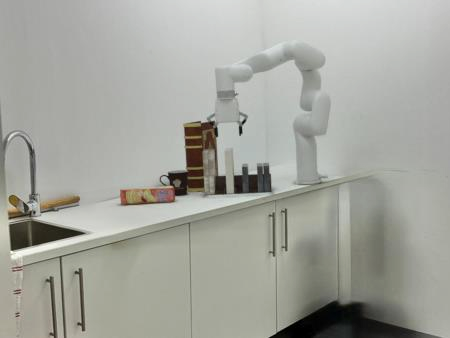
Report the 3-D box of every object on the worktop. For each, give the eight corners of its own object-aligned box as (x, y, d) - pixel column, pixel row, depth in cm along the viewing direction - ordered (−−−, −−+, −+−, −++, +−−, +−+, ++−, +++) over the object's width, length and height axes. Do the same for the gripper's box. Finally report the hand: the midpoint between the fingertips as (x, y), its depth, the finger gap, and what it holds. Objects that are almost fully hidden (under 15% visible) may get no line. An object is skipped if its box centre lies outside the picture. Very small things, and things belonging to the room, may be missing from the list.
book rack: (271, 189, 272) (269, 146, 270) (272, 194, 258) (270, 149, 256) (207, 192, 270) (204, 148, 268) (204, 197, 256) (202, 152, 254)
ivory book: (234, 189, 269) (232, 148, 267) (234, 193, 258) (231, 150, 256) (227, 189, 269) (225, 148, 266) (226, 193, 258) (224, 150, 256)
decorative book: (202, 191, 272) (198, 123, 268) (185, 191, 274) (181, 123, 270) (219, 183, 294) (215, 120, 290) (203, 183, 296) (199, 120, 292)
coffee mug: (193, 193, 269) (192, 170, 268) (181, 196, 261) (180, 173, 260) (171, 192, 274) (170, 169, 272) (159, 195, 266) (157, 172, 265)
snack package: (175, 199, 254) (174, 183, 253) (174, 202, 248) (173, 185, 247) (121, 203, 251) (120, 186, 250) (119, 205, 245) (118, 189, 244)
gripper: (246, 94, 263) (249, 134, 265) (205, 96, 261) (208, 136, 264) (246, 94, 255) (249, 135, 258) (204, 96, 254) (207, 138, 256)
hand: (228, 136), depth 261 cm, fingers open, 9 cm apart
